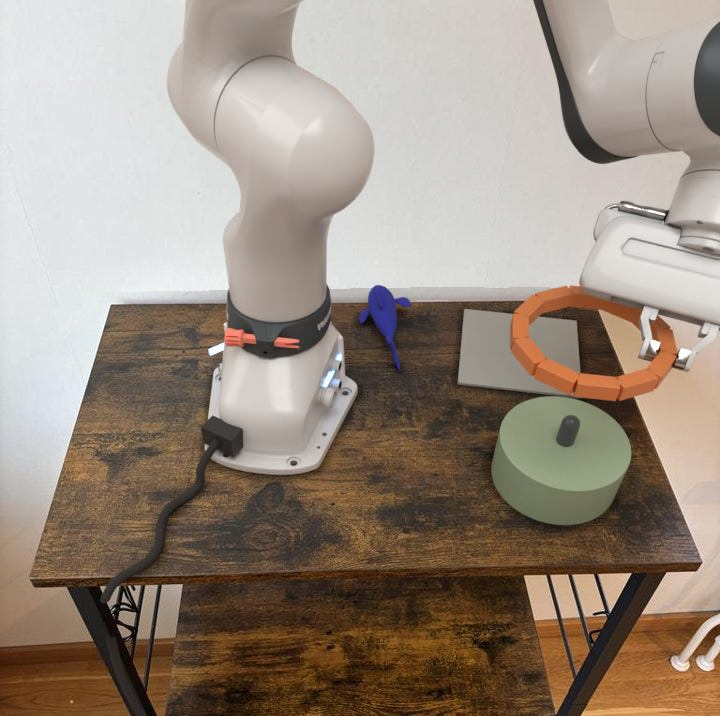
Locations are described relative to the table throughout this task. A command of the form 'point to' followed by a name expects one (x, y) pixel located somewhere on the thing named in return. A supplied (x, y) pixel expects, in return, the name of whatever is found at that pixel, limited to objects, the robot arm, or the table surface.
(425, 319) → the table surface
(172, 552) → the table surface
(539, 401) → the stand
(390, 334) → the fish toy
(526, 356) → the ring
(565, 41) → the robot arm
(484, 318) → the mat
